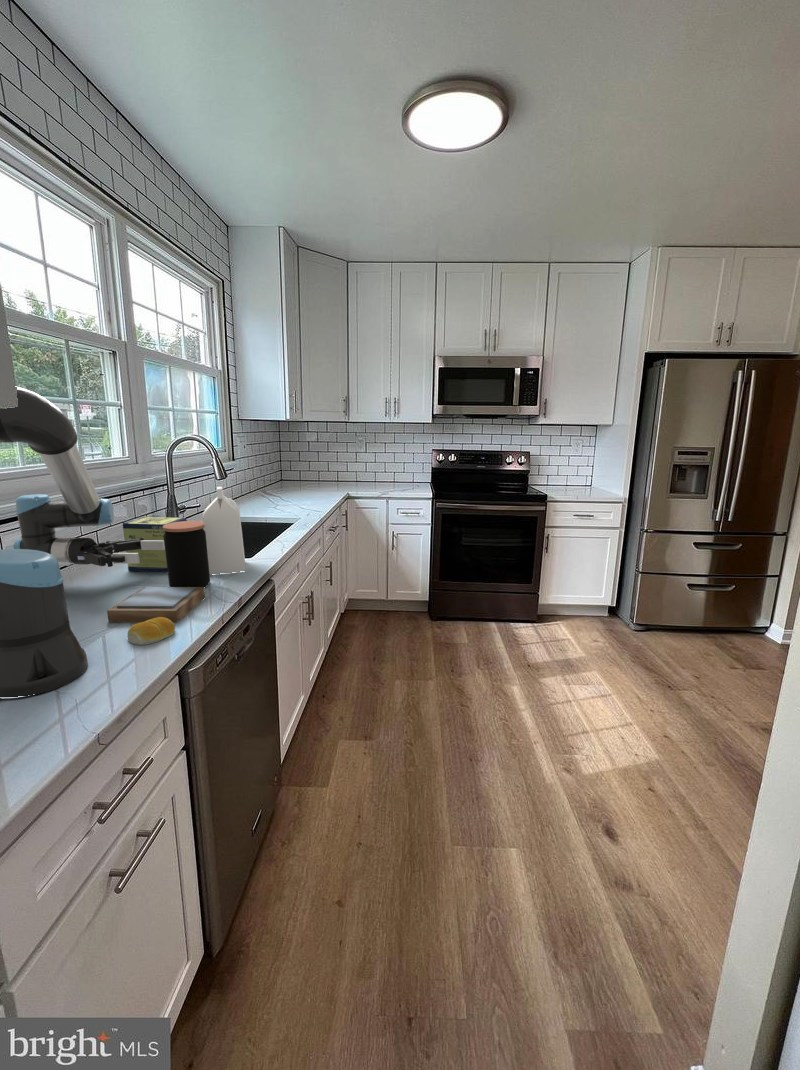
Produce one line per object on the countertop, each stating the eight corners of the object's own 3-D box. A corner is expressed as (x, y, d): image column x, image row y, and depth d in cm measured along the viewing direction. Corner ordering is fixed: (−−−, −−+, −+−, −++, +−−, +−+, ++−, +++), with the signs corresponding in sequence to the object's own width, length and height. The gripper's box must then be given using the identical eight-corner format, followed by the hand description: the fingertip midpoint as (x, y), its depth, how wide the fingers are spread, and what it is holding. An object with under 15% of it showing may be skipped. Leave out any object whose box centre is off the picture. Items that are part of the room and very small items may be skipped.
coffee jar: (217, 581, 137) (211, 521, 133) (198, 593, 127) (192, 529, 123) (182, 579, 138) (176, 520, 134) (161, 592, 128) (153, 528, 124)
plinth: (177, 622, 108) (175, 608, 107) (108, 622, 108) (106, 608, 107) (205, 597, 124) (204, 585, 123) (145, 597, 124) (143, 585, 123)
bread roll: (182, 632, 104) (181, 615, 103) (145, 649, 96) (142, 631, 95) (158, 625, 107) (156, 609, 106) (120, 640, 100) (118, 623, 99)
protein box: (175, 572, 145) (169, 523, 141) (127, 571, 146) (120, 523, 142) (192, 563, 155) (187, 517, 151) (147, 562, 156) (141, 516, 153)
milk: (208, 565, 153) (200, 486, 147) (245, 562, 156) (239, 484, 150) (205, 576, 142) (197, 491, 136) (245, 572, 145) (238, 489, 139)
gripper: (105, 552, 143) (174, 552, 143) (45, 578, 119) (128, 578, 119) (101, 528, 142) (171, 528, 141) (40, 549, 117) (124, 550, 117)
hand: (151, 551), depth 130 cm, fingers open, 13 cm apart
